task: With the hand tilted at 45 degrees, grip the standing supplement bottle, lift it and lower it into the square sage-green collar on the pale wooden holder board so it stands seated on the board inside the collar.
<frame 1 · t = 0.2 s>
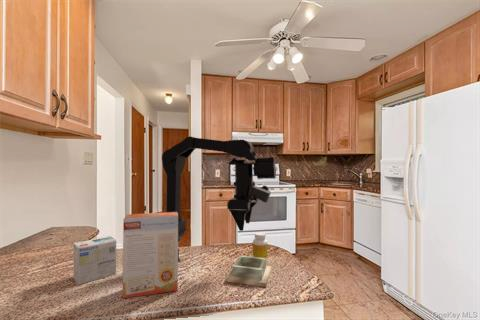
hand: (244, 226, 79), 15 cm above the countertop, tool pointing down, fingers open, 9 cm apart
cracker box: (151, 290, 67), on the countertop
holder: (250, 274, 77), on the countertop
light bulb box: (94, 276, 75), on the countertop
supplement bottle: (259, 261, 88), on the countertop
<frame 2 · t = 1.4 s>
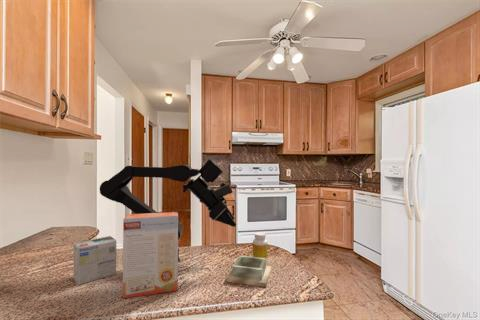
hand: (234, 222, 87), 14 cm above the countertop, tool tilted 45°, fingers open, 9 cm apart
nothing on the countertop moved.
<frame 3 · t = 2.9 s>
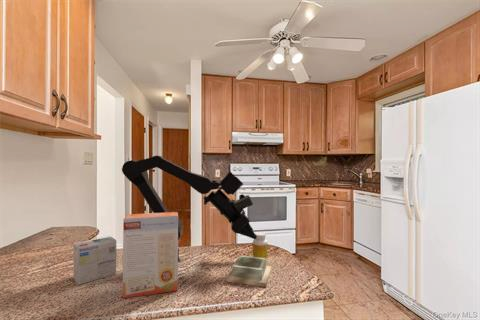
hand: (254, 234, 88), 10 cm above the countertop, tool tilted 45°, fingers open, 9 cm apart
nothing on the countertop moved.
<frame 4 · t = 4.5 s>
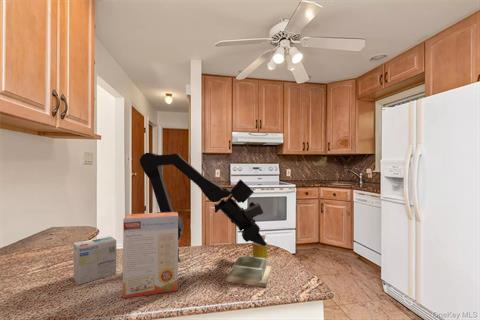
hand: (263, 242, 88), 7 cm above the countertop, tool tilted 45°, fingers closed on supplement bottle, 5 cm apart
supplement bottle: (259, 261, 88), on the countertop, touching gripper
everything else where it was.
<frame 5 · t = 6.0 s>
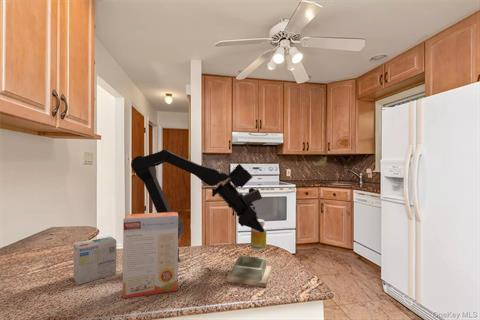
hand: (262, 229, 85), 12 cm above the countertop, tool tilted 45°, fingers closed on supplement bottle, 5 cm apart
supplement bottle: (258, 248, 85), point 5 cm above the countertop, touching gripper
everything else where it was.
when the fingers open (9 cm above the countertop, at t = 7.8 s): supplement bottle drops 1 cm, resting on holder.
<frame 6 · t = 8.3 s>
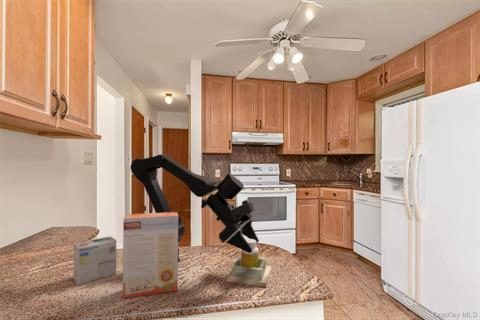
hand: (254, 246, 76), 9 cm above the countertop, tool tilted 45°, fingers open, 9 cm apart
supplement bottle: (249, 272, 77), point 1 cm above the countertop, touching holder
everything else where it was.
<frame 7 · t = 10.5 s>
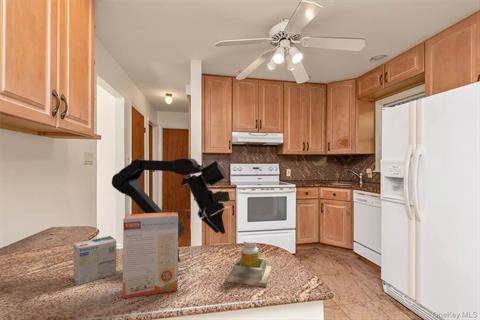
hand: (220, 232, 82), 12 cm above the countertop, tool tilted 30°, fingers open, 9 cm apart
nothing on the countertop moved.
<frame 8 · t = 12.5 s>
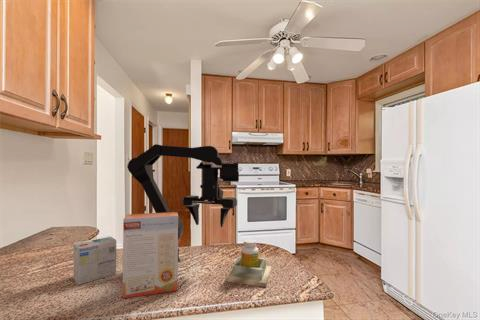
hand: (209, 225, 86), 13 cm above the countertop, tool pointing down, fingers open, 9 cm apart
nothing on the countertop moved.
at the end: supplement bottle 0.2 cm off-centre on the holder, point 0.8 cm above the holder's base; supplement bottle tilted 0°; the gripper is holding nothing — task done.
